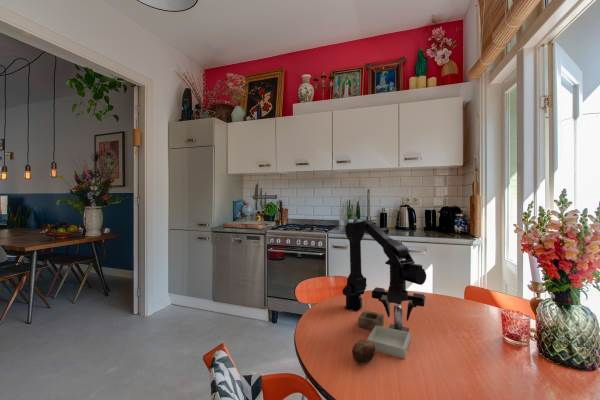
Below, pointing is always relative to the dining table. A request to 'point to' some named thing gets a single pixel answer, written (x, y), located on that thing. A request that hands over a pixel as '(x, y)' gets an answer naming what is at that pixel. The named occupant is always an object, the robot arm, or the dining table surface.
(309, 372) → the dining table surface
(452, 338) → the dining table surface
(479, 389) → the dining table surface
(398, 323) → the pin
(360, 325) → the brown hollow block
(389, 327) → the mat
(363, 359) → the brown coconut
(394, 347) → the tray
